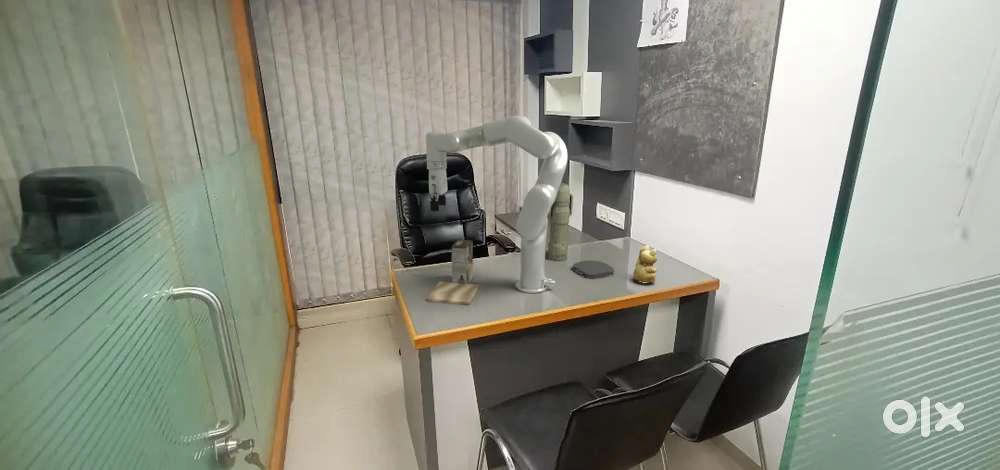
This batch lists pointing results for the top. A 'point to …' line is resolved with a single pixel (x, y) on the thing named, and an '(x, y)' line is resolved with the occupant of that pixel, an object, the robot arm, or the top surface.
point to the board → (453, 293)
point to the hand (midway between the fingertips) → (438, 207)
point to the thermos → (560, 223)
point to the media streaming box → (593, 269)
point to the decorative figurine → (646, 265)
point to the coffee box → (462, 261)
